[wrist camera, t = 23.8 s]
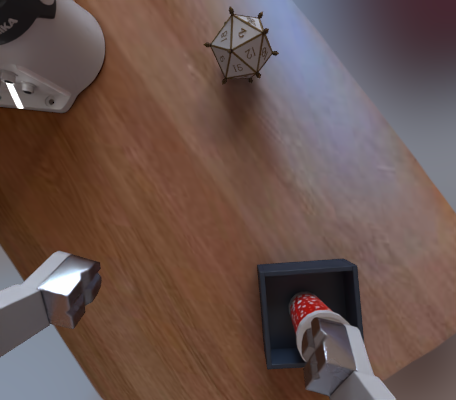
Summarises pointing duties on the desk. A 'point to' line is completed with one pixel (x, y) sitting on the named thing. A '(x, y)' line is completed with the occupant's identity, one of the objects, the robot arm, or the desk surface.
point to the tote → (303, 282)
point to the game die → (241, 47)
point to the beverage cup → (309, 314)
